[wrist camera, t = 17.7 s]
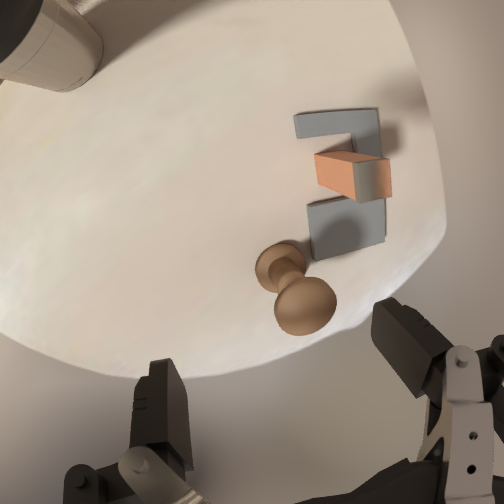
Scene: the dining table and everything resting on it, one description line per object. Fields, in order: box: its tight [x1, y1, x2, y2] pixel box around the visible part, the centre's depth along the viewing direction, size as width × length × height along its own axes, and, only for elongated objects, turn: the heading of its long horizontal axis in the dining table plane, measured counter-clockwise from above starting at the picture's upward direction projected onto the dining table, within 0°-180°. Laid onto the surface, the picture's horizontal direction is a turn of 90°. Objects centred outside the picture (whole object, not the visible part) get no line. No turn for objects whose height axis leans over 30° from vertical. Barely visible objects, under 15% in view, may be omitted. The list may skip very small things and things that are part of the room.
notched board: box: [293, 110, 385, 261], centre depth 38 cm, size 20×12×1 cm, turn 11°
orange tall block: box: [314, 151, 392, 204], centre depth 32 cm, size 4×4×11 cm
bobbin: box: [255, 244, 337, 336], centre depth 36 cm, size 7×7×11 cm
